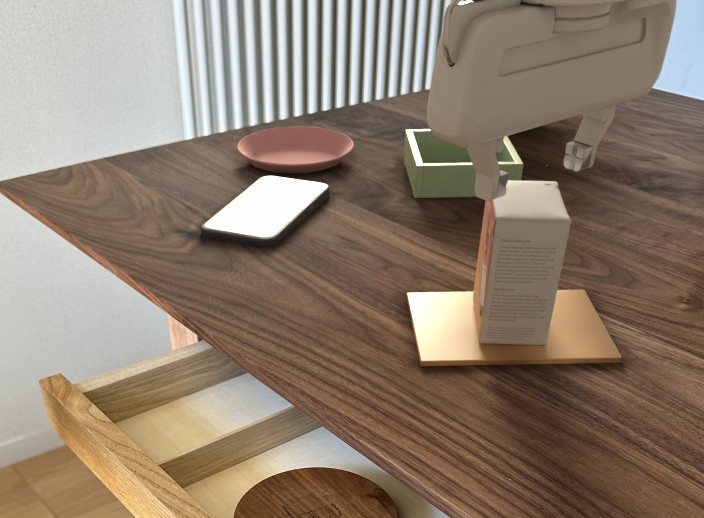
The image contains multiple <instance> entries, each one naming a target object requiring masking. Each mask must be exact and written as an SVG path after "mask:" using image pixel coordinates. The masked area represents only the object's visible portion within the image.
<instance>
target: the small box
mask: <svg viewBox="0 0 704 518" xmlns="http://www.w3.org/2000/svg"><path fill="white" fill-rule="evenodd" d="M506 189H507V190H506V194H505V195H504V196H502V197H500V198H497V199H493V200H491V201H485V202H484V211H483V217H482V226H481V232H480V239H479V247H478V254H477V261H476V262H477V263H476V269H475V278H474V284H473V285H474V286H473V291H474V292H473V302H474V307H475V314H476V324H477V332H478V341H479V343H480V344H514V345H546V343H547V338H548V333H549V328H550V323H551V318H552V313H553V308H554V303H555V298H556V293H557V290H559V283H560V279H561V274H562V269H563V265H564V260H565V259H564V258H565V255H566V249H567V244H568V241H569V234H570V229H571V226H572V219H571V218H570V215H569V213H568V211H567V207H566V205H565V203H564V201H563V197H562V194H561V191H560V187H559V182H558V181H553V180H550V181H549V180H521V181H518V180H508V182H507V184H506Z"/></svg>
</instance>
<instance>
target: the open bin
mask: <svg viewBox="0 0 704 518" xmlns="http://www.w3.org/2000/svg"><path fill="white" fill-rule="evenodd" d="M466 148H467V147H466ZM466 148H464V147H459V146H456V145H453V144H450V143H447V142H445V141H442V140H440V139H438V138H436V137H435V136H434V135H433V134H432V132H431V130H430V128H421V129H420V128H419V129H416V128H415V129H409V128H408V129H405V132H404V148H403V149H404V150H403V166H405V169H406V172H407V177H408V180H409V183H410V187H411V190H412V195H413V197H414V199H420V198H422V199H423V198H424V199H427V198H428V199H429V198H478V197H477V196H476V195H475V181H476V171H475V169H474V166H473V164H472V161H471V159H470V156H469V154H468V151H467V149H466ZM496 157H497V161H498V165H499V169H500V170H501V171H504V172H507V173H509V175H508V180H518V181H522V177H523V170H524V162H523V160H522V159H521V157H520V155H519V154H518V151H517V150H516V148H515V146H514V145H513V143H512V141H511V140H510V138H509V136H505V137H504V141H503V148H502V151H501V152H499V153H496Z"/></svg>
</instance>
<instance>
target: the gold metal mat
mask: <svg viewBox="0 0 704 518" xmlns="http://www.w3.org/2000/svg"><path fill="white" fill-rule="evenodd" d="M473 292H474V290H473V291H428V292H427V291H426V292H423V291H422V292H420V291H419V292H416V291H415V292H406V294H405V299H406V302H407V309H408V313H409V317H410V323H411V327H412V332H413V337H414V341H415V346H416V351H417V356H418V360H419V366H420V367H444V366H450V367H451V366H496V365H497V366H501V365H502V366H504V365H505V366H506V365H507V366H508V365H556V364H557V365H560V364H562V365H565V364H567V365H568V364H616V363H618V364H619V363H622V360H623V356H622V354H621V353H620V351H619V349H618V348H617V346H616V344H615V342H614V340H613V339H612V337H611V335H610V333H609V331H608V329H607V328H606V326H605V324H604V322H603V321H602V319H601V316H600V315H599V313H598V312H597V309H596V308H595V306H594V304H593V302H592V301H591V299H590V297H589V295H588V294H587V292H586V289H557V293H556V298H555V303H554V308H553V313H552V318H551V323H550V328H549V333H548V338H547V343H546V345H514V344H480V343H479V341H478V332H477V324H476V314H475V307H474V302H473Z"/></svg>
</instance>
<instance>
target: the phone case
mask: <svg viewBox="0 0 704 518" xmlns="http://www.w3.org/2000/svg"><path fill="white" fill-rule="evenodd" d="M330 194H331V193H330V186H329V185H328V184H327V183H324V182H320V181H319V182H318V181H313V180H305V179H299V178H298V179H297V178H290V177H283V176H276V175H264V176H261V177H259V178H258V179H257V180H255V181H254V182H253V183H252V184H250V185H249V186H248V187H247V188H246V189H244V190H243V191H242V192H241V193H239V194H238V195H237V196H236V197H235V198H233V199H232V200H231V201H230V202H228V203H227V204H226V205H225V206H223V207H222V208H221V209H220V210H219V211H218V212H216V213H215V214H214V215H212V216H211V217H210V218H209V219H207V220H206V221H205V222H204V223H202V225H200V234H201V236H202V237H204V238H208V239H214V240H220V241H225V242H231V243H237V244H243V245H249V246H255V247H259V248H260V247H261V248H269V247H274V246H277V245H278V244H279V243H280V242H281V241H283V239H284V238H286V237H287V236H288V235H289V234H290V233H291V232H292V231H293V230H295V229H296V228H297V227H298V226H299V225H300V224H301V223H302V222H303V221H304V220H305V219H307V218H308V217H309V216H310V215H311V214H313V213H314V212H315V210H316V209H318V208H319V207H320V206H321V205H322V204H323V203H324V202H326V200H328V199H329V198H330Z"/></svg>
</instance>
